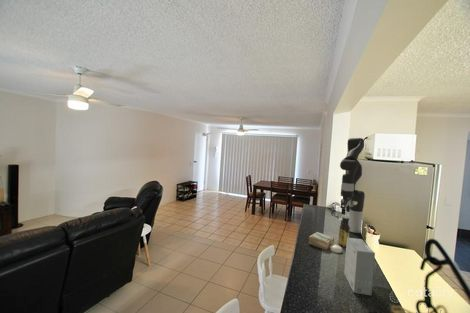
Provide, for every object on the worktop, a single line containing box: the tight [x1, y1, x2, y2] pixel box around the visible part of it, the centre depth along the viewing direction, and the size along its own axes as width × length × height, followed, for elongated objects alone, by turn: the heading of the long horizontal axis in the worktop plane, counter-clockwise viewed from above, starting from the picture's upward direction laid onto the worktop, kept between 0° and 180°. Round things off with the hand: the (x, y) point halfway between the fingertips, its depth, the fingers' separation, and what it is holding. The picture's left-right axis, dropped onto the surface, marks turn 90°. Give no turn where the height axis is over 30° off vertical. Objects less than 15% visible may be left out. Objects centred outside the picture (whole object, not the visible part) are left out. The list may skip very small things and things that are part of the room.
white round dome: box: [329, 244, 343, 254], centre depth 137 cm, size 7×7×2 cm
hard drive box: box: [343, 237, 376, 296], centre depth 103 cm, size 16×8×20 cm, turn 168°
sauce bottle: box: [337, 215, 351, 248], centre depth 144 cm, size 7×6×20 cm
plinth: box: [308, 231, 335, 251], centre depth 145 cm, size 12×12×5 cm
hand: (345, 213), depth 143 cm, fingers open, 8 cm apart
